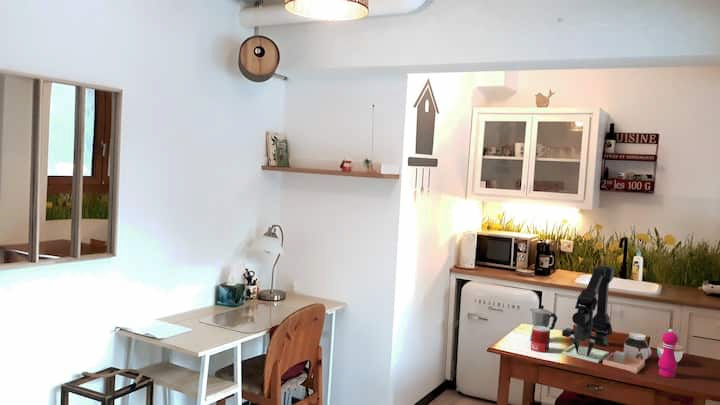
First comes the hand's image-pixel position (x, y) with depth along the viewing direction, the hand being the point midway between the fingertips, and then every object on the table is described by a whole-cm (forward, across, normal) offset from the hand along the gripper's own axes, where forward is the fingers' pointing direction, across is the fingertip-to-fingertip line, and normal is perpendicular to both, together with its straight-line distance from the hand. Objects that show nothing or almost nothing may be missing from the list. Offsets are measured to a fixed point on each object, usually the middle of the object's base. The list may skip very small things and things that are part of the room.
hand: (582, 354), depth 273 cm
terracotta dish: (+1, +17, +3) cm, 17 cm away
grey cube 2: (+1, 0, 0) cm, 1 cm away
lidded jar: (+2, +31, +25) cm, 40 cm away
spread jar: (+2, +19, +18) cm, 26 cm away
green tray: (+1, 0, +4) cm, 4 cm away
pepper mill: (+2, +34, +5) cm, 34 cm away
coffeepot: (+2, -23, +9) cm, 25 cm away
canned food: (+2, -18, -6) cm, 19 cm away
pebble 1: (+1, +14, +5) cm, 15 cm away
